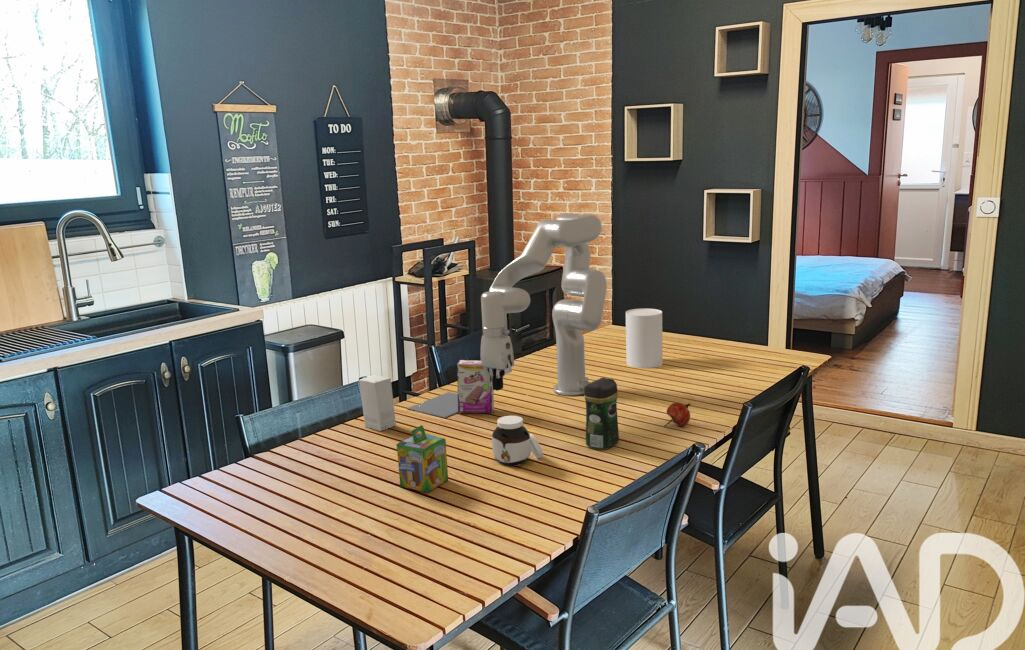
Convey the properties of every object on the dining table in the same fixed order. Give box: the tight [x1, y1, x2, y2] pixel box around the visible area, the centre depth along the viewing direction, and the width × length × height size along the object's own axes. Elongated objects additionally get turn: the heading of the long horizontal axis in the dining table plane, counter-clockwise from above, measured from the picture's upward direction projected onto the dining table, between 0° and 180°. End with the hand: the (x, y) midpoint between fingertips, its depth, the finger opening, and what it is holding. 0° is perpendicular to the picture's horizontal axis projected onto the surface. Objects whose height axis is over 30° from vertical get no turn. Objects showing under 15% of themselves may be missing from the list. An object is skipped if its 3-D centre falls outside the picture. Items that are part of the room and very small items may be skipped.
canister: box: [625, 307, 663, 369], centre depth 292 cm, size 14×14×20 cm
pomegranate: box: [663, 402, 691, 428], centre depth 226 cm, size 7×7×10 cm
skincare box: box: [358, 374, 397, 432], centre depth 237 cm, size 8×7×16 cm
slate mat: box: [406, 391, 459, 419], centre depth 256 cm, size 17×20×1 cm
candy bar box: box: [456, 359, 495, 414], centre depth 246 cm, size 11×5×16 cm, turn 84°
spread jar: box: [491, 415, 544, 467], centre depth 206 cm, size 12×11×12 cm
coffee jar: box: [583, 377, 620, 450], centre depth 213 cm, size 10×8×19 cm
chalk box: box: [396, 424, 449, 494], centre depth 194 cm, size 9×9×15 cm
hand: (498, 389), depth 240 cm, fingers closed
